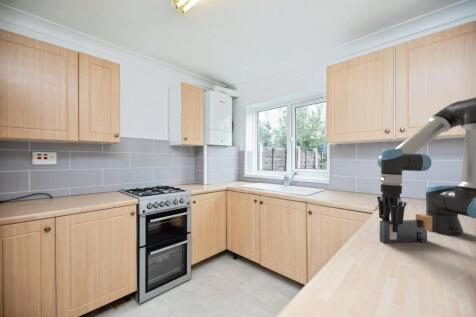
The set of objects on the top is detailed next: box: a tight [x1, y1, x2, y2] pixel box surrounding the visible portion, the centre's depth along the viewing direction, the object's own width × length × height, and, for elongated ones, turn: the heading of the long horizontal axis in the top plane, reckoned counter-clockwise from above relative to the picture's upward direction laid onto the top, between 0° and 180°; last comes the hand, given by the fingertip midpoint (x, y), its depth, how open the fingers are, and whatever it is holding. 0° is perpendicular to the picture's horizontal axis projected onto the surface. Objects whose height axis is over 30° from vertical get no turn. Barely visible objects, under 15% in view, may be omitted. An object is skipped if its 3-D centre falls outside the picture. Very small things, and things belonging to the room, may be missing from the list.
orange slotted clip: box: [415, 213, 432, 232], centre depth 93 cm, size 3×4×6 cm
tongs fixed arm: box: [379, 219, 428, 244], centre depth 92 cm, size 22×3×9 cm, turn 95°
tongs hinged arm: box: [381, 221, 418, 244], centre depth 91 cm, size 15×1×9 cm, turn 94°
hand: (389, 237), depth 92 cm, fingers open, 3 cm apart
